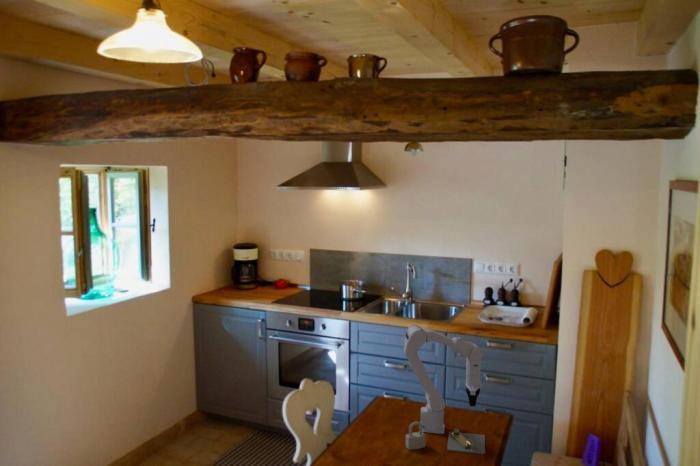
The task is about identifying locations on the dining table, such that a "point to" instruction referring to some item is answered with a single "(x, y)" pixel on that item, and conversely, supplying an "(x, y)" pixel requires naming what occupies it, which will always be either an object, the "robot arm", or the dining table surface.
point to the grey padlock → (415, 437)
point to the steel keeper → (471, 444)
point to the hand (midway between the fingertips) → (472, 405)
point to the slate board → (457, 447)
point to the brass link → (460, 439)
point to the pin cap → (456, 431)
